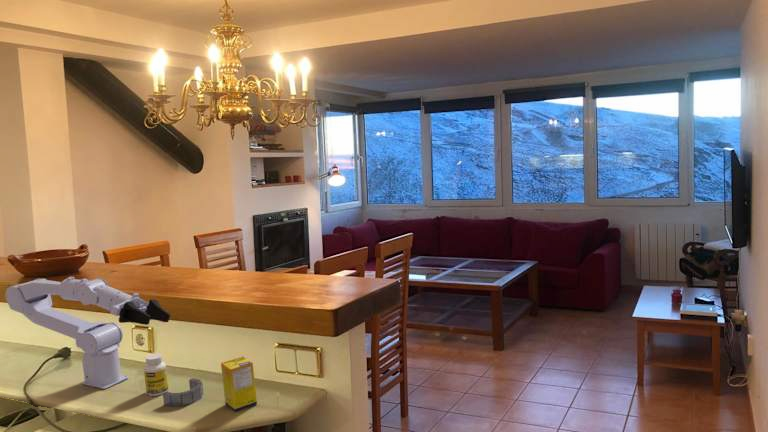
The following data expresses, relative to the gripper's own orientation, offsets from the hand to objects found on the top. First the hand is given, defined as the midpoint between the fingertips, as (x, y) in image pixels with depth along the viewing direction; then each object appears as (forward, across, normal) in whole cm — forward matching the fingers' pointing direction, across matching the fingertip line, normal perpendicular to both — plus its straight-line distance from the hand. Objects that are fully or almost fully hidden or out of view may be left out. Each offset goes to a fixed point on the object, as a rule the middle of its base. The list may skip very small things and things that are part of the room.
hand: (159, 319), depth 161 cm
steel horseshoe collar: (+14, +1, +16) cm, 21 cm away
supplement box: (+29, +1, +12) cm, 31 cm away
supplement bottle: (+4, +3, +19) cm, 20 cm away
